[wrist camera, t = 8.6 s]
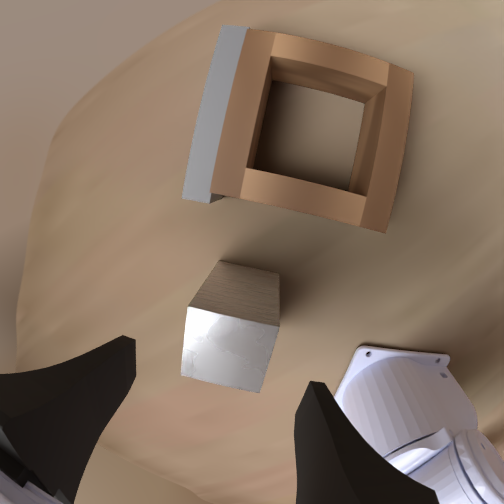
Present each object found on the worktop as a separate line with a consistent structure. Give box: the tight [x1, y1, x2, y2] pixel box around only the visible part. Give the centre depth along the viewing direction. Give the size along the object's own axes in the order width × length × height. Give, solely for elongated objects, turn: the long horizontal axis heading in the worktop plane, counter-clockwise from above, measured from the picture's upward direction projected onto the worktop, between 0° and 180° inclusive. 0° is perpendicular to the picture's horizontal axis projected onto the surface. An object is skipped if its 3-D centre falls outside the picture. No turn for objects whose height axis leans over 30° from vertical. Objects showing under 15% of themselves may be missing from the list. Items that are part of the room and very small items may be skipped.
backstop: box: [182, 25, 250, 204], centre depth 15 cm, size 2×10×4 cm, turn 168°
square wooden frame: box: [209, 29, 414, 234], centre depth 14 cm, size 9×9×4 cm
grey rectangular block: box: [181, 261, 280, 393], centre depth 16 cm, size 4×4×7 cm
